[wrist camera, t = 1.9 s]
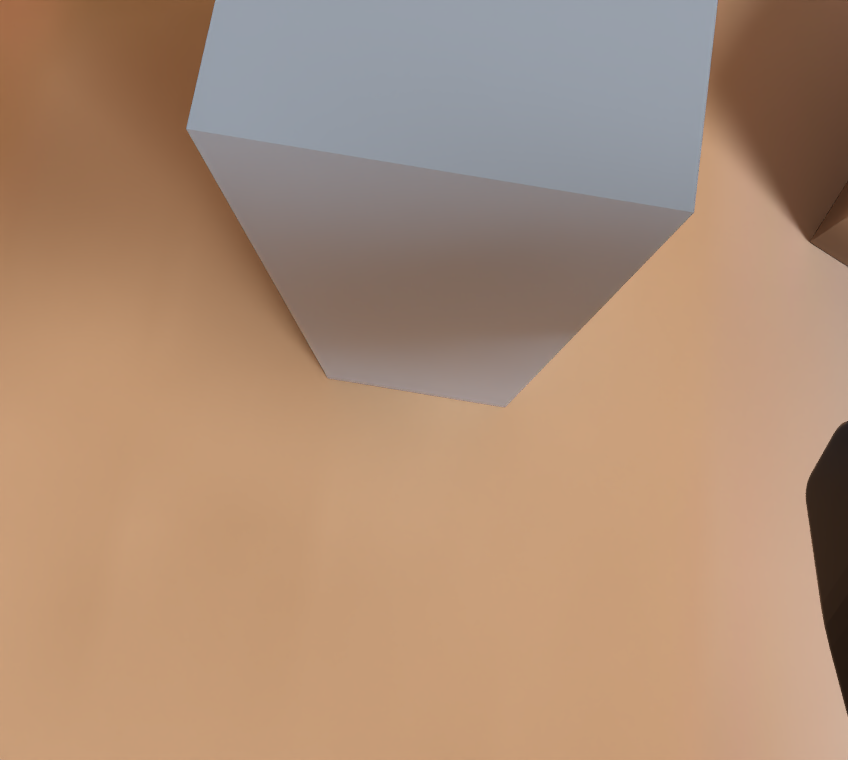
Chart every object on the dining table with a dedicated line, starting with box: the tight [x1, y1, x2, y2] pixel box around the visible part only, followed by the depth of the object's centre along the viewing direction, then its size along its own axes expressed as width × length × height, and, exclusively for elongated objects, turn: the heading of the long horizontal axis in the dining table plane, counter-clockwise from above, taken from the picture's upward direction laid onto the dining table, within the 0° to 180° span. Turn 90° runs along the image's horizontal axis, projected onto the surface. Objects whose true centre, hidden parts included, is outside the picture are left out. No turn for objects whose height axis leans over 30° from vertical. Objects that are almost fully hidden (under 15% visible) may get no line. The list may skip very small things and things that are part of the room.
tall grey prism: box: [186, 0, 718, 407], centre depth 14 cm, size 11×6×13 cm, turn 171°
